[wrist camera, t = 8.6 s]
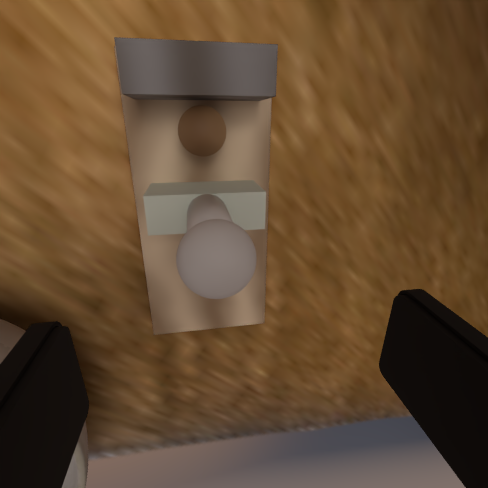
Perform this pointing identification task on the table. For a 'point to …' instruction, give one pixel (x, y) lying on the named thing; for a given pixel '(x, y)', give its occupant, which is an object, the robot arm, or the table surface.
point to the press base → (196, 157)
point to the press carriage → (209, 231)
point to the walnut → (202, 130)
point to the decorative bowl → (3, 340)
